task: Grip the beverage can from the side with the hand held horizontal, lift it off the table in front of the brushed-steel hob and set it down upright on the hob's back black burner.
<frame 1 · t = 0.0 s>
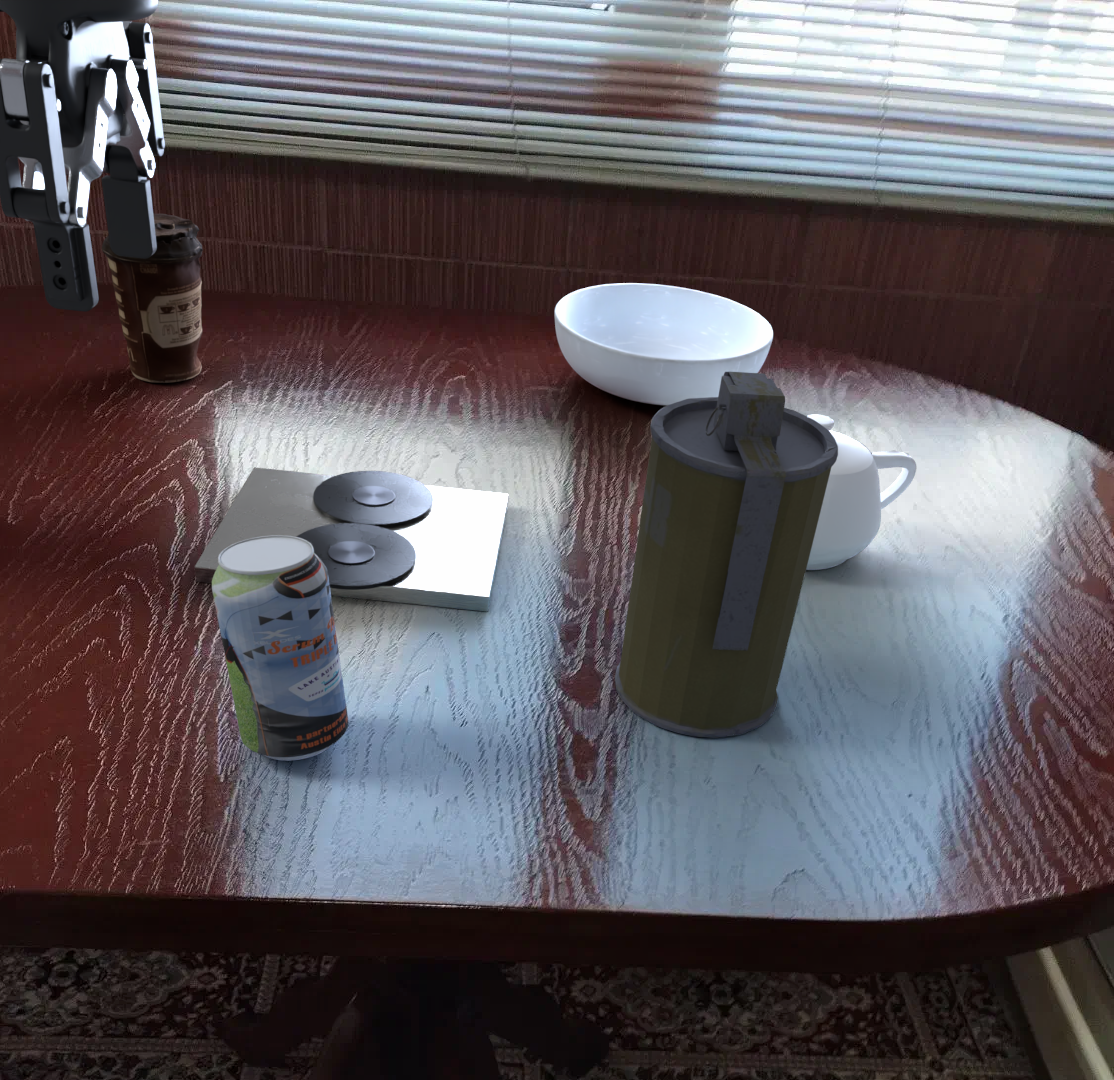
hand: (105, 280, 59), 23 cm above the table, tool pointing down, fingers open, 8 cm apart
coffee cup: (168, 374, 111), on the table
canister: (695, 694, 77), on the table
beverage can: (288, 740, 69), on the table
teapot: (785, 544, 95), on the table
hob: (363, 542, 88), on the table
serving bowl: (654, 389, 118), on the table
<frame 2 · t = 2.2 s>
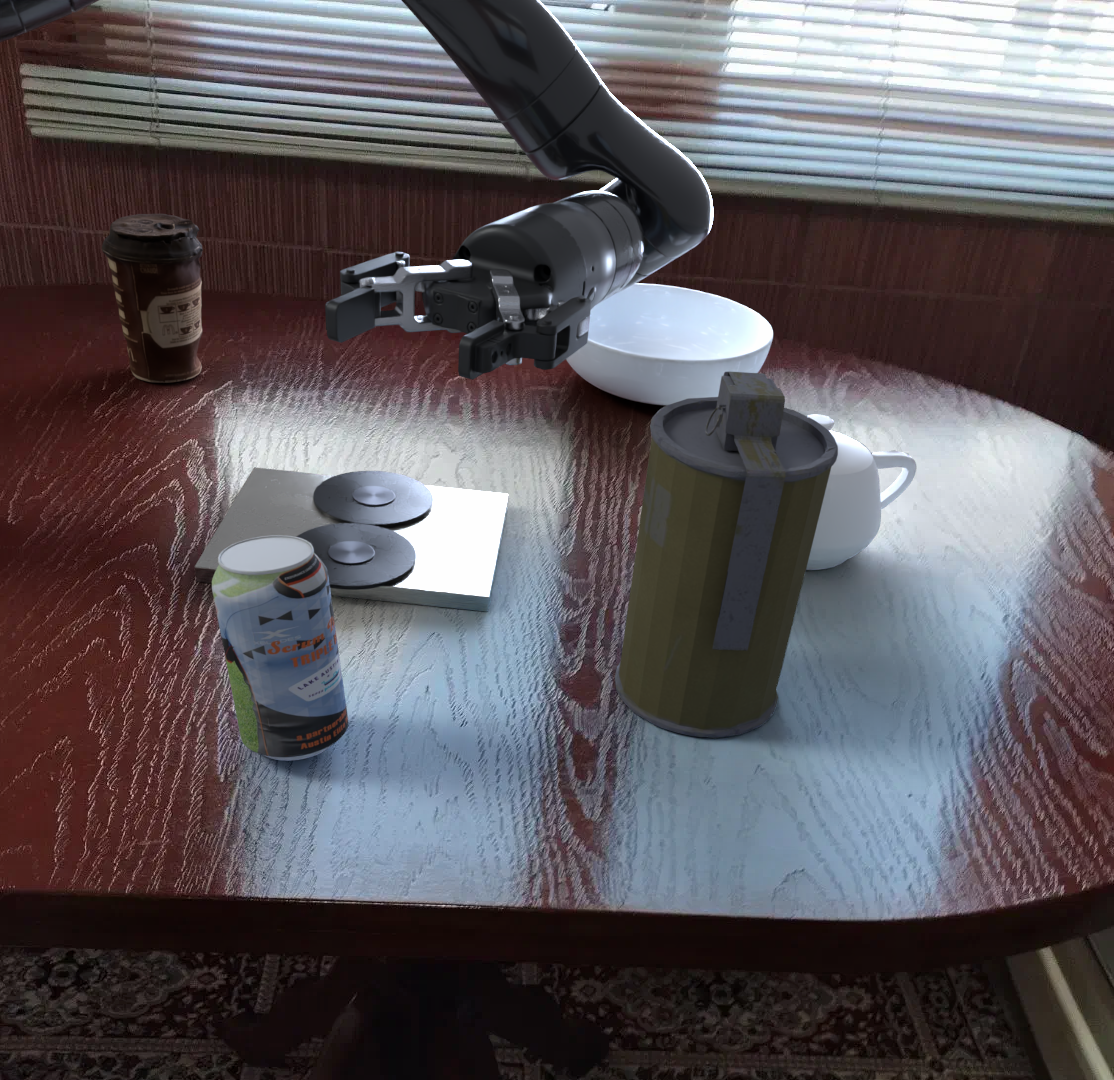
hand: (396, 341, 65), 20 cm above the table, tool horizontal, fingers open, 8 cm apart
nothing on the table moved.
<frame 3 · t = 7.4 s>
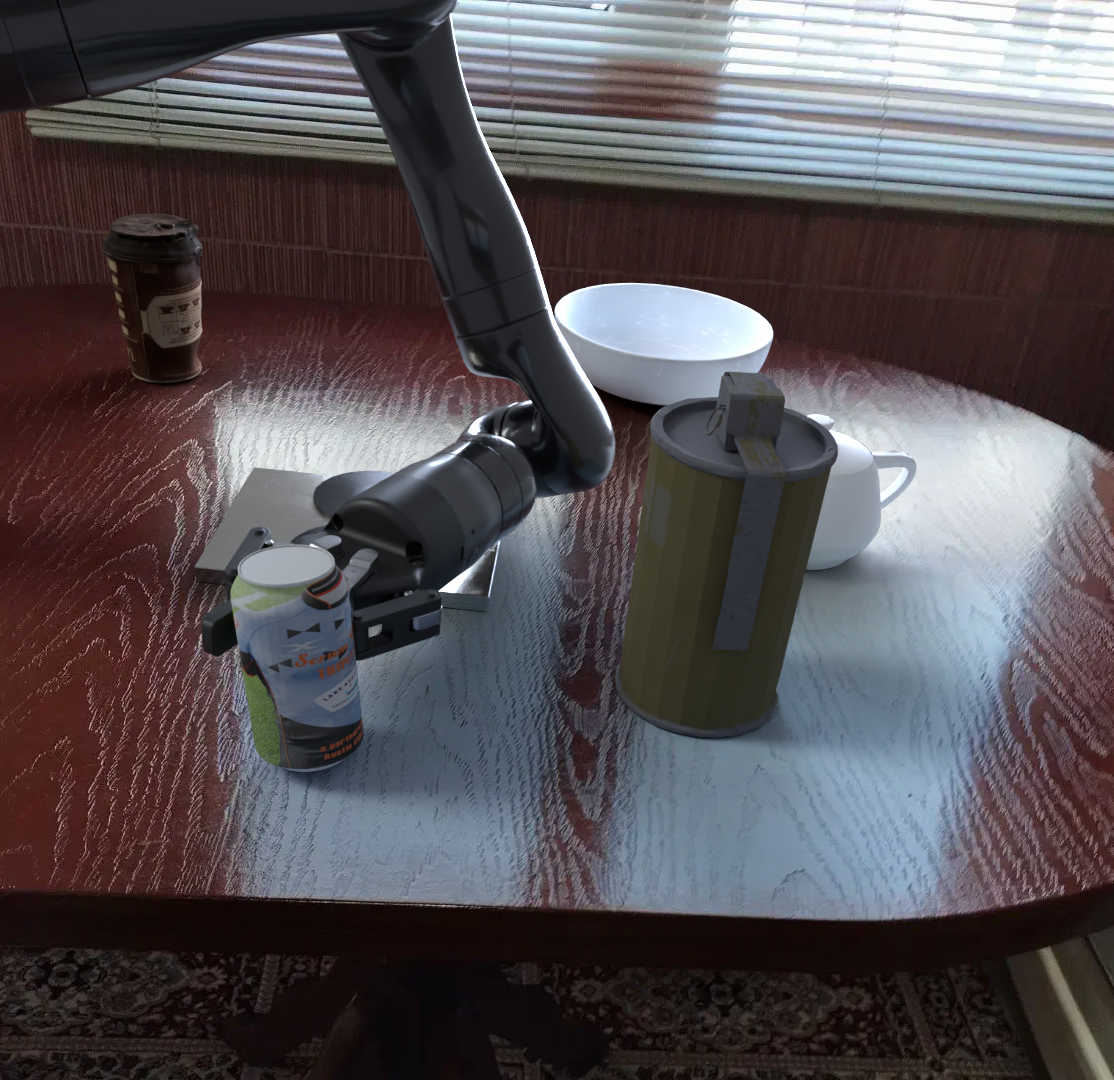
hand: (237, 651, 63), 7 cm above the table, tool horizontal, fingers closed on beverage can, 3 cm apart
beverage can: (300, 750, 69), on the table, touching gripper
everything else where it was.
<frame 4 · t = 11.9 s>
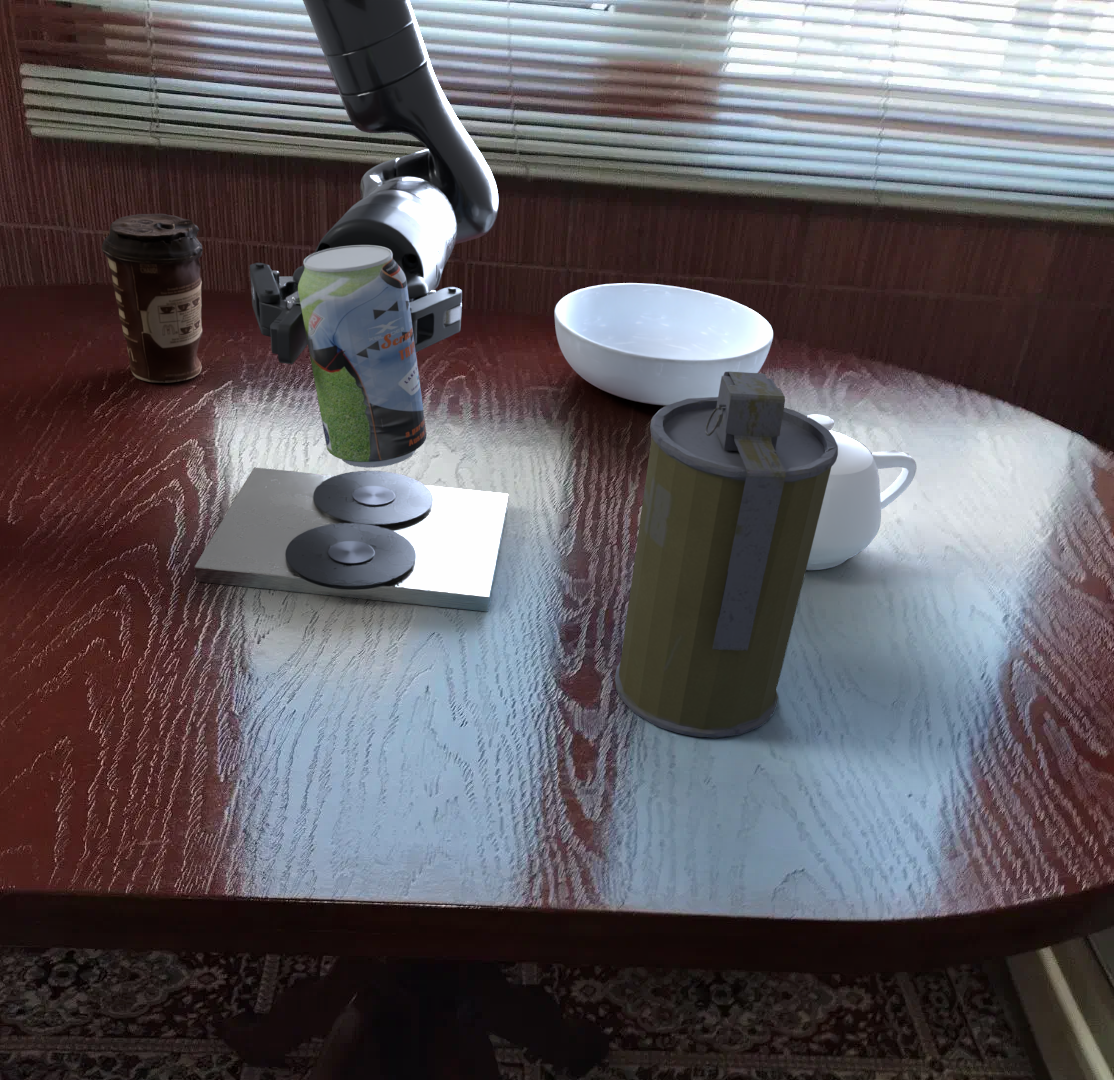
hand: (317, 350, 67), 19 cm above the table, tool horizontal, fingers closed on beverage can, 3 cm apart
beverage can: (365, 458, 74), point 11 cm above the table, touching gripper
everything else where it was.
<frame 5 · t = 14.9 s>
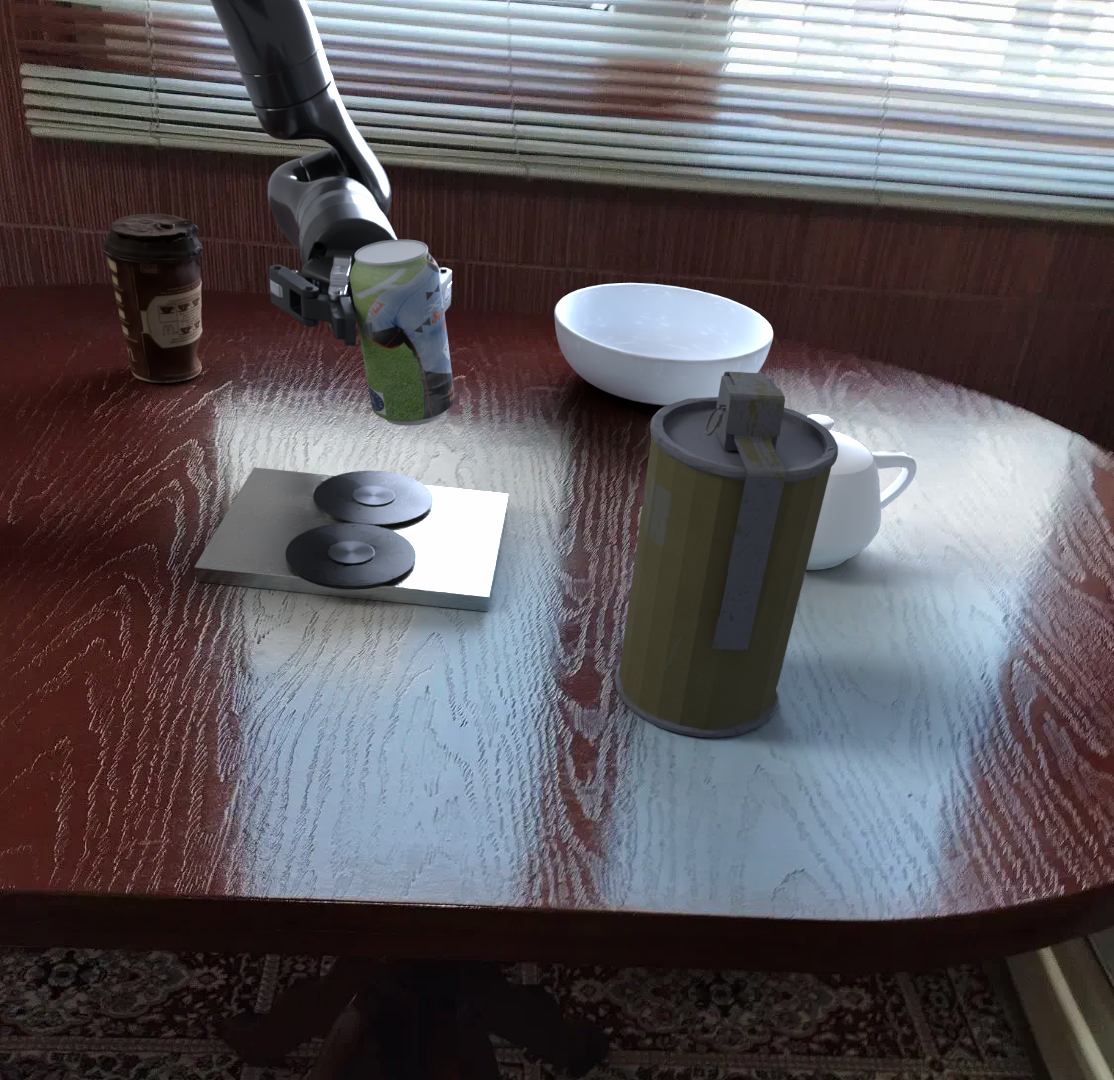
hand: (378, 332, 81), 15 cm above the table, tool horizontal, fingers closed on beverage can, 3 cm apart
beverage can: (403, 419, 88), point 8 cm above the table, touching gripper
everything else where it was.
when the fingers open (9 cm above the table, at t = 16.8 s): beverage can stays where it is, resting on hob.
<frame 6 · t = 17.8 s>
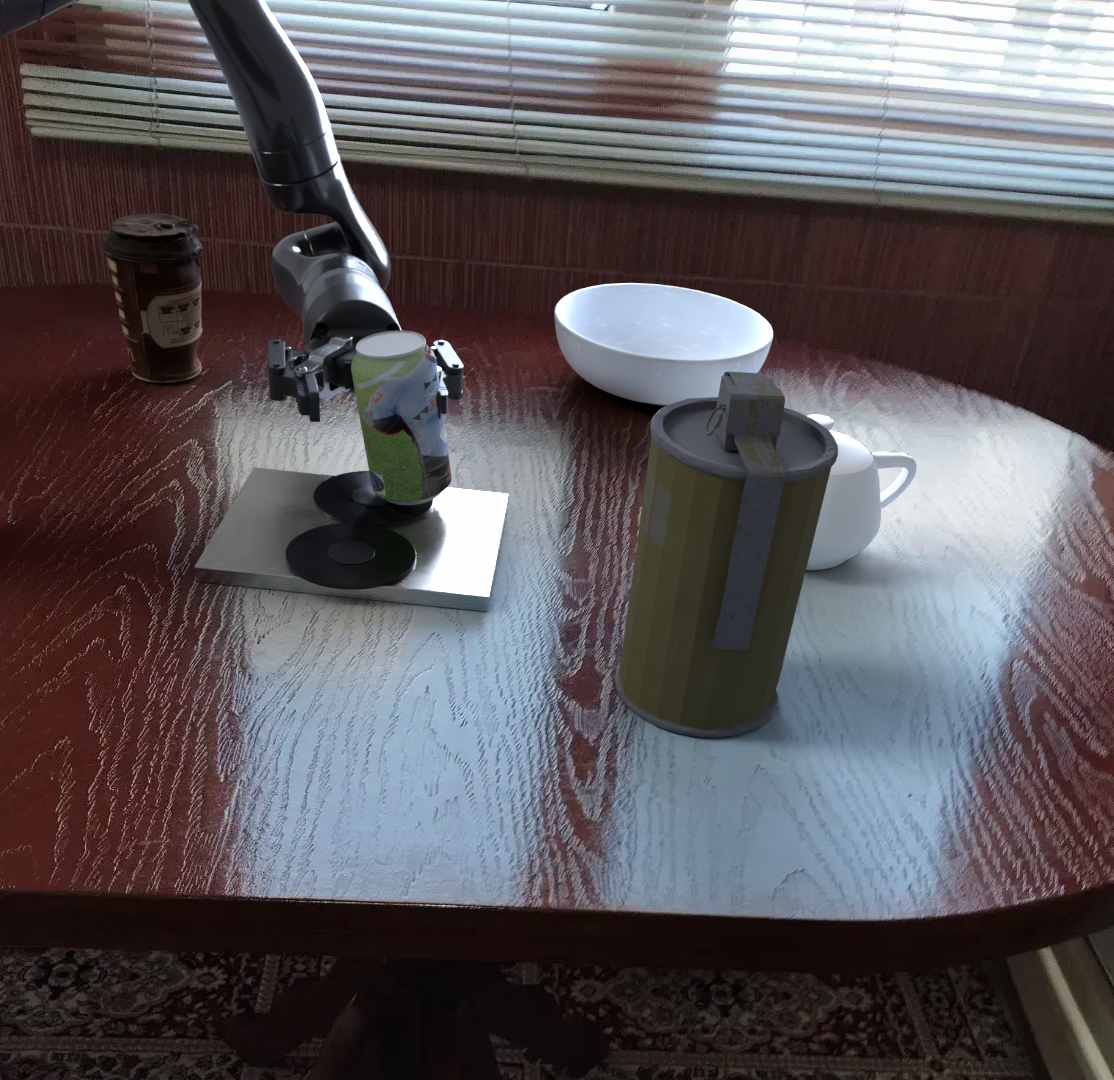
hand: (376, 408, 85), 9 cm above the table, tool horizontal, fingers open, 8 cm apart
beverage can: (402, 497, 92), point 1 cm above the table, touching hob
everything else where it was.
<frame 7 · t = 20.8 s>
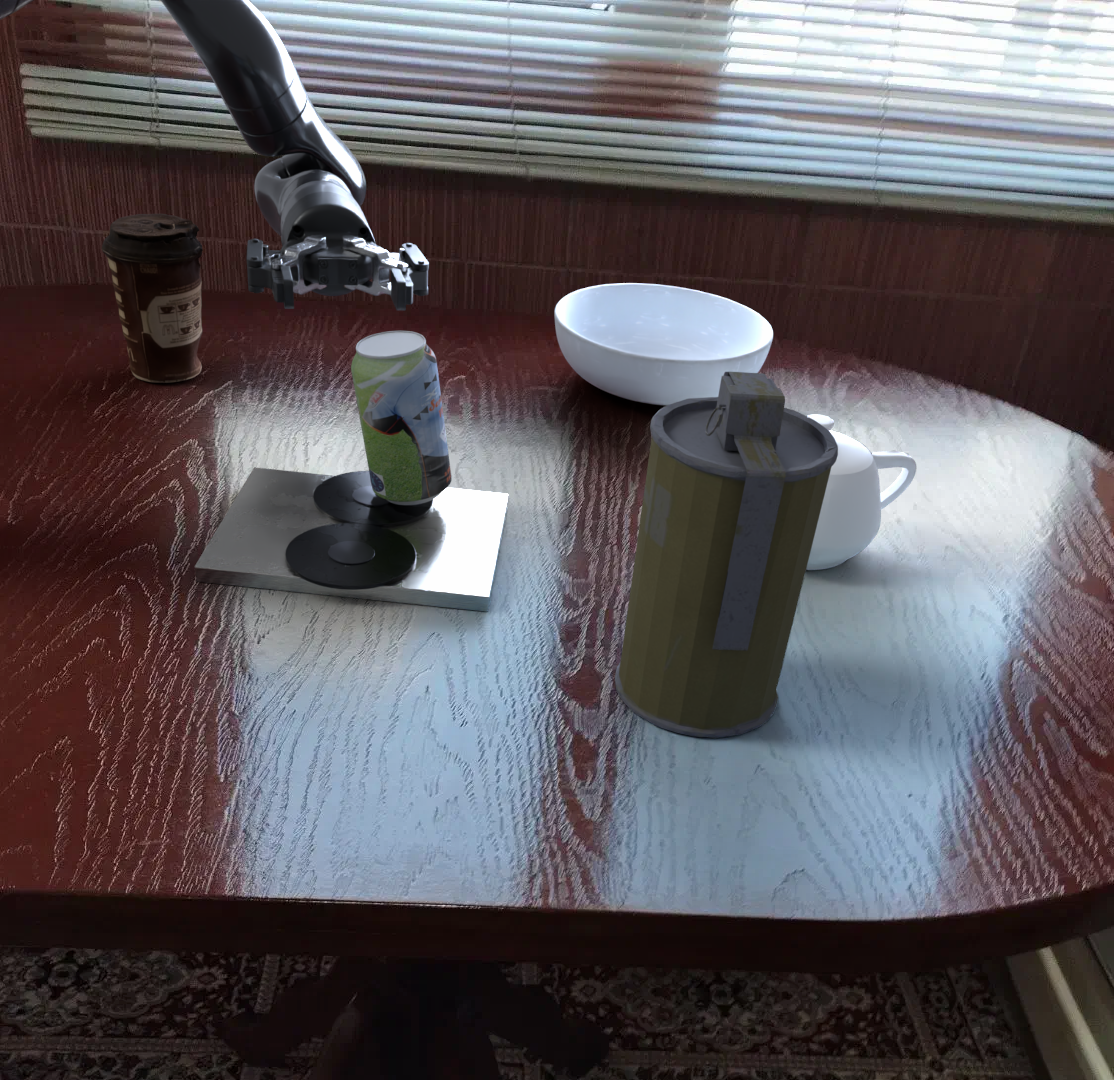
hand: (346, 296, 92), 13 cm above the table, tool horizontal, fingers open, 8 cm apart
nothing on the table moved.
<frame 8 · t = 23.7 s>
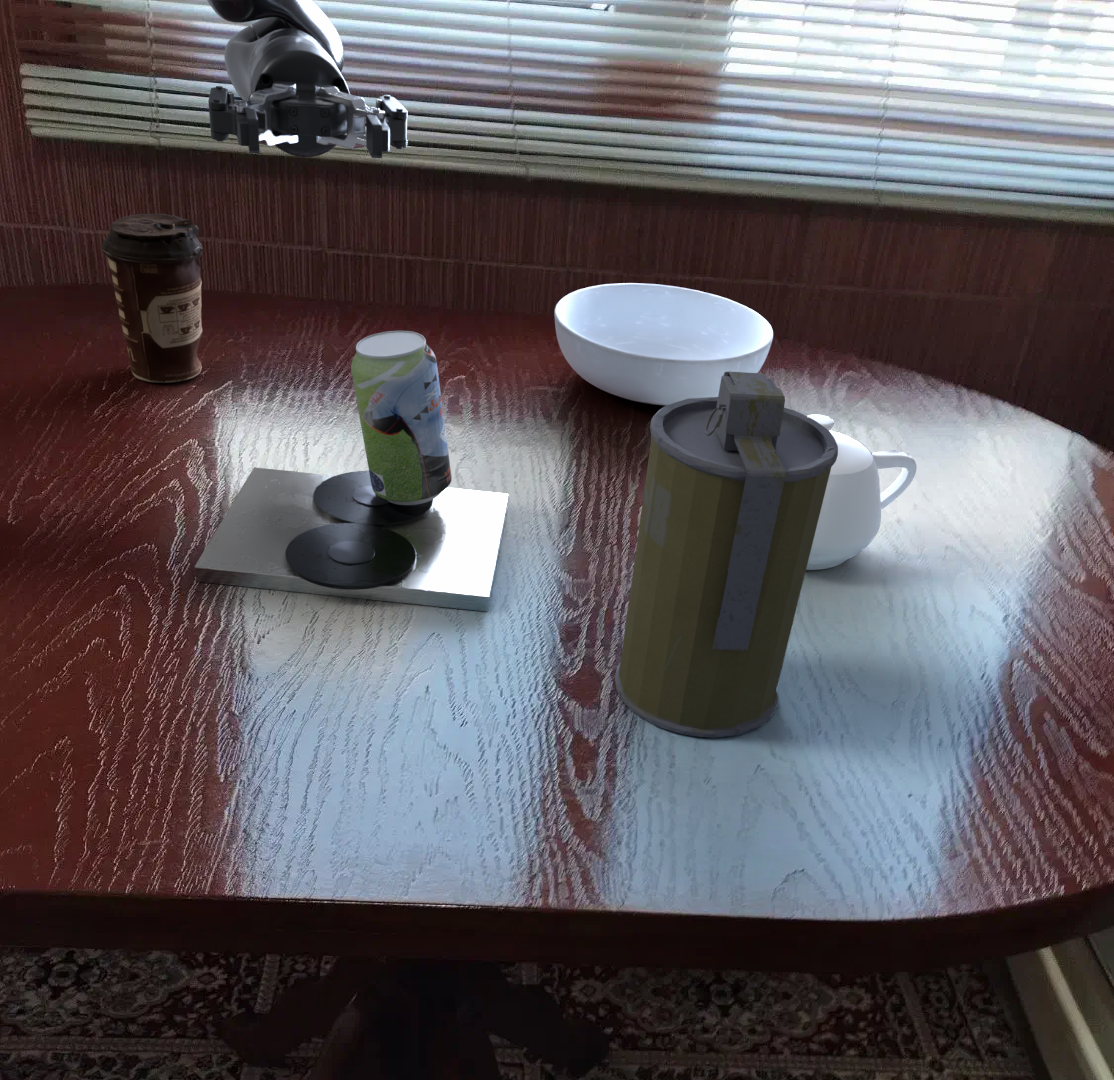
hand: (316, 140, 84), 24 cm above the table, tool horizontal, fingers open, 8 cm apart
nothing on the table moved.
at the end: beverage can 2.1 cm from the target spot on the hob, point 1.4 cm above the hob's base; beverage can tilted 0°; the gripper is holding nothing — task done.
